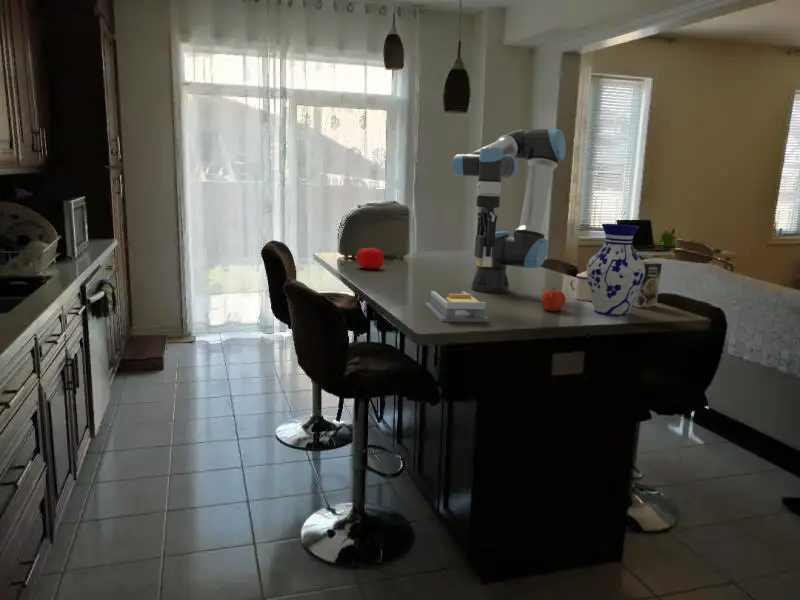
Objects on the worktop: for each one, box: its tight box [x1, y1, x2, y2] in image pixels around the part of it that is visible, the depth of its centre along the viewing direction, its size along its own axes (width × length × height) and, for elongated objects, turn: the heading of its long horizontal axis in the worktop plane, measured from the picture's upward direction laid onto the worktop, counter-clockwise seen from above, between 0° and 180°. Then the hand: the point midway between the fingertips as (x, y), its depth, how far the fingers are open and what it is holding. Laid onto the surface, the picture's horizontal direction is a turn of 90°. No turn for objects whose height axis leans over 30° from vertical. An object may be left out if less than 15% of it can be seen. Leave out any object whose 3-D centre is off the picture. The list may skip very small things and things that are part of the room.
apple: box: [540, 287, 566, 312], centre depth 219 cm, size 8×8×8 cm
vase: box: [586, 223, 645, 317], centre depth 217 cm, size 19×19×30 cm
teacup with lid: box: [569, 269, 592, 302], centre depth 244 cm, size 12×9×12 cm
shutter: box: [445, 293, 479, 302], centre depth 199 cm, size 9×7×3 cm
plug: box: [474, 232, 496, 267], centre depth 214 cm, size 5×5×11 cm
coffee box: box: [632, 261, 663, 308], centre depth 234 cm, size 9×6×16 cm
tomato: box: [356, 246, 385, 270], centre depth 298 cm, size 11×13×10 cm
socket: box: [424, 290, 490, 323], centre depth 206 cm, size 15×24×6 cm, turn 10°
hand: (483, 264), depth 215 cm, fingers closed on plug, 5 cm apart
